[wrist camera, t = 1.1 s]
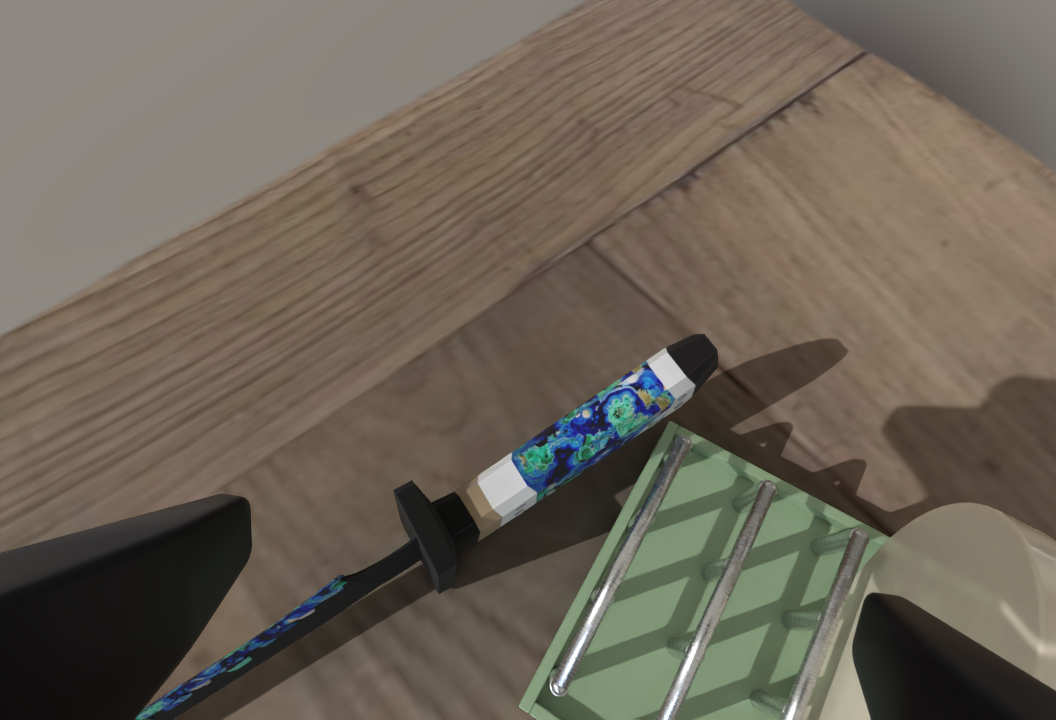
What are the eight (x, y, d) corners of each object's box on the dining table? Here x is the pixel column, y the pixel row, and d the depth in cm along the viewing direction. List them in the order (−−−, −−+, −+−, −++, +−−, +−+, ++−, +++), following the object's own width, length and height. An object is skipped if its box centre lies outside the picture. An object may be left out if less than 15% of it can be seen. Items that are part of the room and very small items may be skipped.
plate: (787, 841, 18) (1043, 1088, 9) (743, 812, 18) (944, 1018, 9) (891, 548, 21) (1161, 494, 12) (852, 527, 22) (1085, 459, 12)
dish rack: (813, 905, 18) (879, 978, 14) (520, 701, 20) (513, 719, 17) (924, 569, 22) (999, 560, 18) (664, 429, 24) (684, 396, 20)
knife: (688, 360, 24) (703, 312, 20) (734, 423, 23) (760, 387, 18) (-19, 763, 22) (-166, 804, 18) (-8, 854, 21) (-163, 921, 17)
